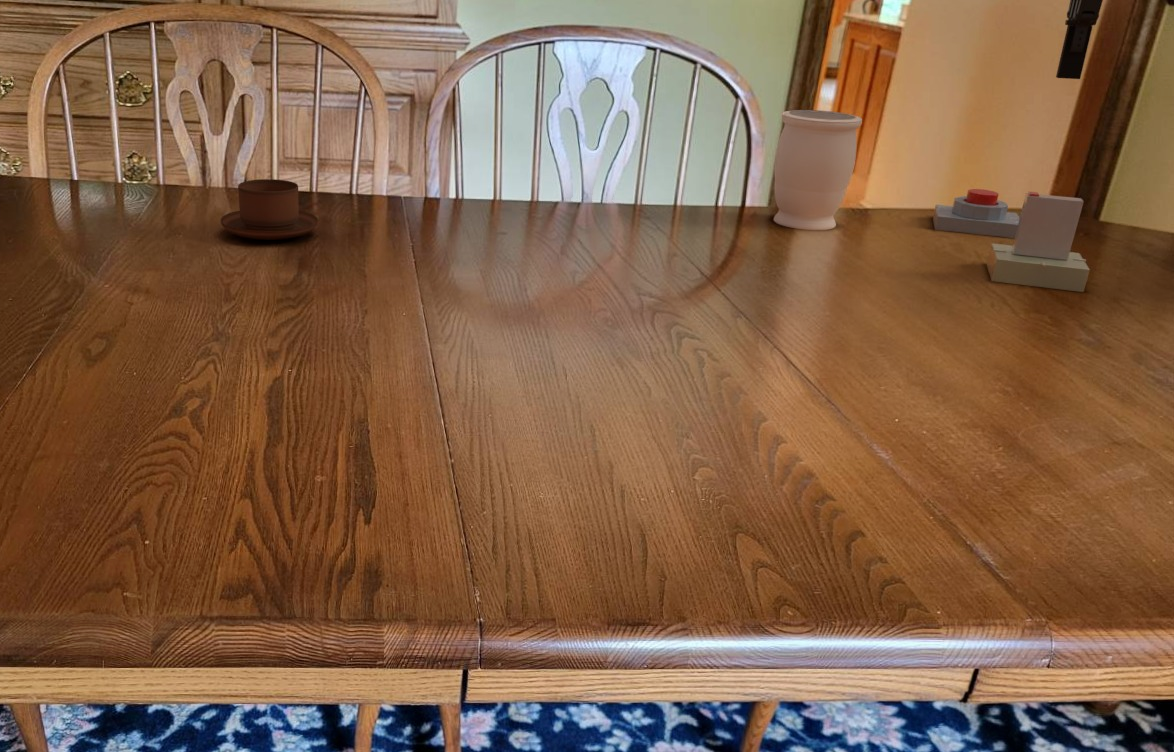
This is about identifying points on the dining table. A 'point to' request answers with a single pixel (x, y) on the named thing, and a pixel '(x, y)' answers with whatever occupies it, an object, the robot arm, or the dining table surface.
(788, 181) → the jar
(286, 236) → the cup and saucer
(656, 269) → the dining table surface
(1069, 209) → the grey flat slab
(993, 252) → the base
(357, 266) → the dining table surface
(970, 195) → the button
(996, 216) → the button box
